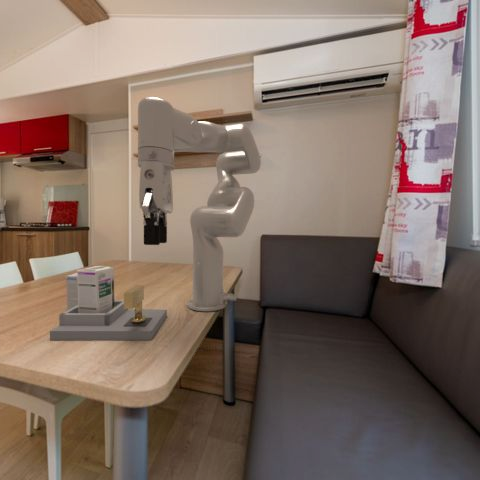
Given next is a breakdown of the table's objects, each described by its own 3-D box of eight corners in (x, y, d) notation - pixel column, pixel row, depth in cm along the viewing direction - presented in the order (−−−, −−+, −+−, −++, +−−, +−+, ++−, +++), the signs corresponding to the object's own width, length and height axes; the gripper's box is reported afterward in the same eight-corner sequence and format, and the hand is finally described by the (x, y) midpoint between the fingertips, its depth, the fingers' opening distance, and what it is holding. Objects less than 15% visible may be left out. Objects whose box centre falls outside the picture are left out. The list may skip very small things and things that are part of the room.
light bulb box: (86, 301, 80) (86, 268, 79) (108, 301, 80) (107, 268, 79) (65, 313, 69) (65, 275, 68) (90, 313, 69) (90, 275, 69)
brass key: (147, 317, 60) (147, 284, 60) (135, 331, 53) (135, 292, 52) (134, 317, 60) (134, 284, 60) (120, 331, 52) (120, 292, 52)
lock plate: (166, 316, 68) (166, 300, 68) (151, 340, 54) (151, 320, 54) (86, 316, 67) (86, 300, 66) (49, 340, 53) (49, 319, 53)
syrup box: (98, 330, 58) (97, 270, 57) (77, 327, 59) (76, 268, 59) (115, 321, 64) (115, 266, 63) (95, 319, 65) (95, 265, 64)
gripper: (163, 149, 45) (163, 247, 46) (181, 170, 62) (180, 241, 63) (122, 147, 45) (122, 246, 46) (151, 169, 62) (150, 241, 63)
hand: (155, 242), depth 54 cm, fingers open, 5 cm apart
